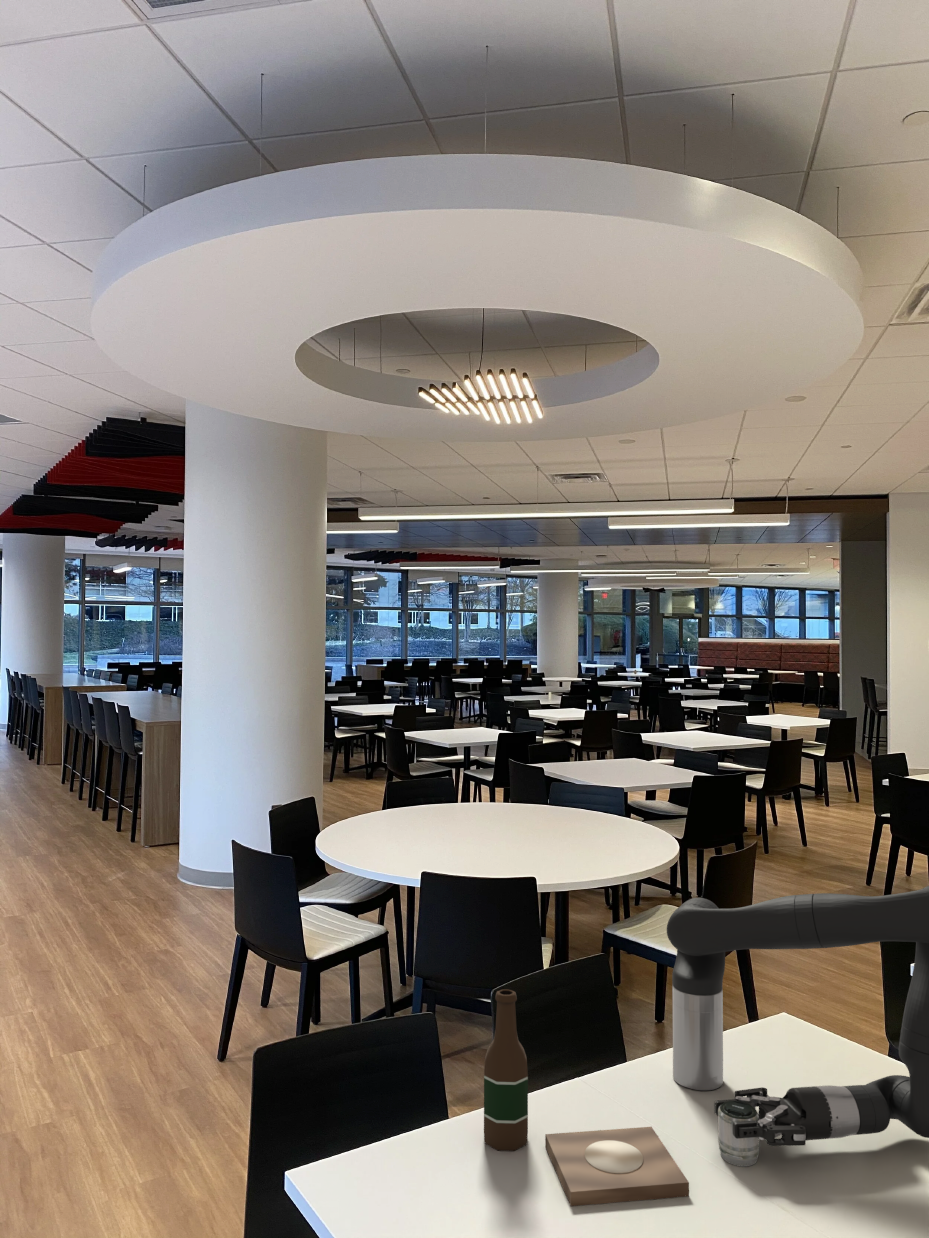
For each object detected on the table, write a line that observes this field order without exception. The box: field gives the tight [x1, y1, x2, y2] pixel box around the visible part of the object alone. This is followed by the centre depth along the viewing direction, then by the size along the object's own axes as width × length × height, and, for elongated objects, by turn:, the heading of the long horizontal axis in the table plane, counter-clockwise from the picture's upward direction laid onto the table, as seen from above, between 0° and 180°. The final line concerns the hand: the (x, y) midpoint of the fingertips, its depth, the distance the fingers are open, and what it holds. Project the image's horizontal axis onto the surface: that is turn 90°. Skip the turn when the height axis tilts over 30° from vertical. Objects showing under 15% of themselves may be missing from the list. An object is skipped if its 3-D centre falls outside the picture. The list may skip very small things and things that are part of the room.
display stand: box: [544, 1126, 690, 1207], centre depth 140 cm, size 16×18×2 cm
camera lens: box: [717, 1101, 760, 1167], centre depth 144 cm, size 6×6×8 cm
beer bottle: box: [483, 988, 529, 1152], centre depth 149 cm, size 8×8×24 cm
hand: (724, 1119), depth 144 cm, fingers closed on camera lens, 6 cm apart
